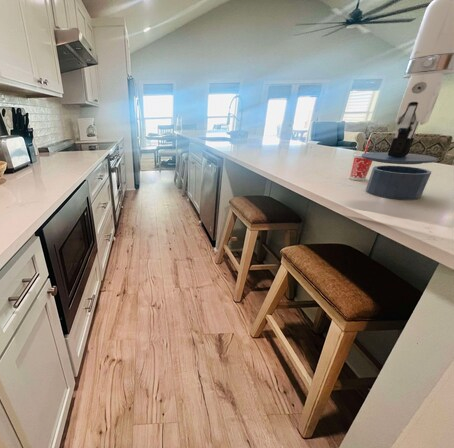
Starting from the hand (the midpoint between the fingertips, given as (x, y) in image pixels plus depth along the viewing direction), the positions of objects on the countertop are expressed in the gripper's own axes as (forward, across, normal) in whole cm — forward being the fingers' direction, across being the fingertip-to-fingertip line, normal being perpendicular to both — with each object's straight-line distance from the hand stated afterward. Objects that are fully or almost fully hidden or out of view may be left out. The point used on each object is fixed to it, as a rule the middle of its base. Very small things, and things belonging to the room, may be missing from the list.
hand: (397, 154), depth 59 cm
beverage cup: (+14, +32, +12) cm, 37 cm away
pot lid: (+1, 0, 0) cm, 1 cm away
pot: (+14, +18, 0) cm, 23 cm away
